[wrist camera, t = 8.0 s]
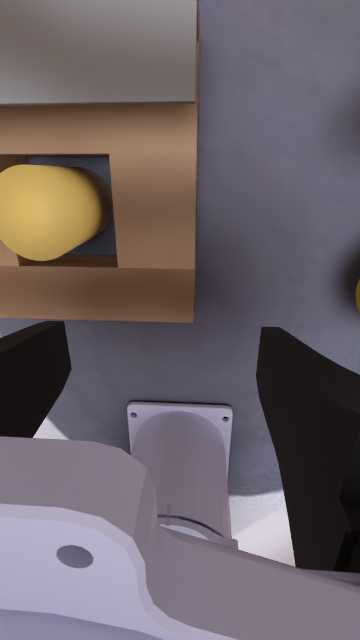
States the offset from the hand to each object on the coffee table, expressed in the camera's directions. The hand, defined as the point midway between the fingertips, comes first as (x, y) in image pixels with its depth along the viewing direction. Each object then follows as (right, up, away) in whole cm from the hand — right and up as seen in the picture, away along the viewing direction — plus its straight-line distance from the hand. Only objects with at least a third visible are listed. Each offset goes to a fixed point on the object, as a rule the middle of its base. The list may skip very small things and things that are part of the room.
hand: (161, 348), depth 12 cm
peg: (-5, +8, +8) cm, 12 cm away
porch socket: (-5, +8, +8) cm, 12 cm away
